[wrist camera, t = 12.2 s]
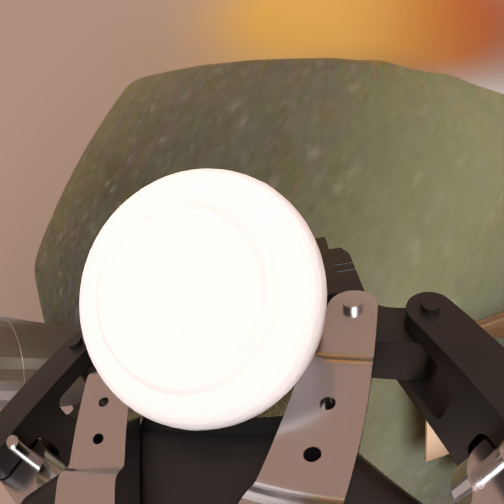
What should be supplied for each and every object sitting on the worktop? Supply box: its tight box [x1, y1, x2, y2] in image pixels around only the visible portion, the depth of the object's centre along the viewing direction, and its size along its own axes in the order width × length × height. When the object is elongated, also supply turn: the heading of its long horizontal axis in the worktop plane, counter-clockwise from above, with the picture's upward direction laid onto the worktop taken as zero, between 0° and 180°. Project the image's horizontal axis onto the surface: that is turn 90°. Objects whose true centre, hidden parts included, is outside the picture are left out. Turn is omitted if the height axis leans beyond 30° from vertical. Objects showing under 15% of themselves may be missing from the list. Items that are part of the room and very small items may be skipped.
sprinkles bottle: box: [79, 169, 327, 431], centre depth 11 cm, size 5×5×13 cm
